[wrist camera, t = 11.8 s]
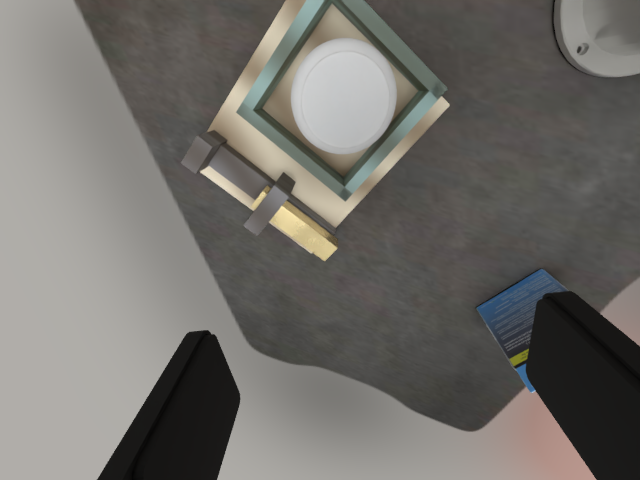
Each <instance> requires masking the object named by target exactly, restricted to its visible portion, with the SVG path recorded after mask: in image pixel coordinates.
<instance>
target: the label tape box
mask: <svg viewBox="0 0 640 480" xmlns="http://www.w3.org/2000/svg"><path fill="white" fill-rule="evenodd" d="M562 291H569V290H567V289H566V288H565V287H564V286H563V285H561V284H560V283H559V282H558V281H557V280H556V279H554V278H553V277H552V276H551V275H550V274H549V273H547V272H546V271H545V270H543V269H540V270H538V271H536V272H535V273H533V274H532V275H530V276H528V277H527V278H525V279H523V280H522V281H520V282H519V283H517V284H515V285H514V286H512V287H510V288H509V289H507V290H505V291H504V292H502V293H500V294H499V295H497V296H495V297H494V298H492V299H490V300H489V301H487V302H485V303H483V304H482V305H480V306H478V307H477V308H476V309H477V311H478V313H479V314H480V316H481V317H482V319H483V321H484V322H485V324H486V325H487V327H488V328H489V330H490V332H491V333H492V335H493V336H494V338H495V340H496V341H497V343H498V344H499V346H500V348H501V349H502V351H503V352H504V354H505V356H506V357H507V359H508V361H509V362H510V364H511V366H512V367H513V369H514V370H516V371H517V372H518V374H519V375H520V377H521V379H522V380H523V382H524V383H525V385H526V387H527V388H528V389H529V391H530V392H531V393H533V392H535V391H536V390H535V389H534V388H533V386H532V385H531V383H530V381H529V380H528V377H527V374H526V363H527V357H528V351H529V345H530V339H531V333H532V327H533V321H534V315H535V310H536V304H537V301H538V300H540V299H542V297H543V295H544V294H546V293H553V292H562Z"/></svg>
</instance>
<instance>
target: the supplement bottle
mask: <svg viewBox="0 0 640 480" xmlns="http://www.w3.org/2000/svg"><path fill="white" fill-rule="evenodd" d="M396 101H397V88H396V81H395V77H394V74H393V71H392V69H391V67H390V65H389V63H388V61H387V60H386V59H385V57H384V56H383V55H382V54H381V53H380V52H379V51H378V50H377V49H376V48H374V47H373V46H372V45H370V44H368V43H366V42H364V41H362V40H358V39H353V38H337V39H333V40H329V41H327V42H325V43H322V44H321V45H319V46H317V47H316V48H315V49H313V50H312V51H311V52H310V53H309V54H308V55H307V56H306V57H305V58H304V60H303V61H302V63H301V64H300V66H299V68H298V70H297V72H296V74H295V76H294V79H293V83H292V89H291V107H292V112H293V116H294V119H295V121H296V124H297V126H298V128H299V130H300V131H301V132H302V134H303V135H304V136H305V138H306V139H307V140H308V141H309V142H310V143H312V144H313V145H314V146H316V147H317V148H319V149H321V150H323V151H326V152H329V153H334V154H351V153H356V152H359V151H361V150H363V149H365V148H367V147H369V146H370V145H372V144H373V143H374V142H376V141H377V140H378V139H379V138H380V137H381V136H382V135H383V133H384V132H385V131H386V129H387V128H388V126H389V124H390V122H391V120H392V117H393V115H394V111H395V107H396Z"/></svg>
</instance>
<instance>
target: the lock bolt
mask: <svg viewBox="0 0 640 480" xmlns="http://www.w3.org/2000/svg"><path fill="white" fill-rule="evenodd" d="M270 190H271V187H269V186H268V185H267V186H266V187H265V188H264V190H263V191H262V192H261V194H260V195H259V196H258V198H257V199H256V200H255V202H254V203H253V204H252V206H251V207H252V208H253V209H254V210H256V208H257V207H258V206H259V204H260V203H261V202H262V200H263V199H264V198H265V197H266V195H267V194H268V193H269V191H270ZM270 221H271V222H272V223H273V224H275V225H276V226H277V227H279V228H280V229H281V230H283V231H284V232H286V233H287V234H288V235H290V236H291V237H292V238H294V239H295V240H296V241H298V242H299V243H300V244H302V245H303V246H305V247H306V248H307V249H309V250H310V251H311V252H313V253H314V254H315V255H317V256H318V257H320V258H321V259H322V260H324V261H326V260H327V259H328V258H329V257H330V256H331V255H332V254H333V252H334V251H335V250H336V249H337V248H338V239H337V238H336V237H334V236H333V235H332V234H330V233H329V232H328V231H327V230H325V229H324V228H323V227H321V226H320V225H319V224H317V223H316V222H315V221H314V220H312V219H311V218H310V217H308V216H307V215H306V214H304V213H303V212H302V211H301V210H299V209H298V208H297V207H295V206H294V205H293V204H291V203H290V202H289V201H288V200H286V201H285V203H284V204H283V205H282V206H281V208H280V209H279V210H278V211H277V213H276V214H275V215H274V216H273V217H272V219H271V220H270Z"/></svg>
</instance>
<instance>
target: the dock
mask: <svg viewBox="0 0 640 480" xmlns="http://www.w3.org/2000/svg"><path fill="white" fill-rule="evenodd" d="M337 38H353V39H358V40H362V41H364V42H366V43H368V44H370V45H372V46H373V47H374V48H376V49H377V50H378V51H379V52H380V53H381V54H382V55H383V56H384V57H385V59H386V60H387V61H388V63H389V65H390V67H391V69H392V71H393V74H394V77H395V81H396V88H397V101H396V107H395V111H394V115H393V117H392V120H391V122H390V124H389V126H388V128H387V129H386V131H385V132H384V133H383V135H382V136H381V137H380V138H379V139H378V140H377V141H376V142H374V143H373V144H372V145H370V146H369V147H367V148H365V149H363V150H361V151H359V152H356V153H351V154H334V153H329V152H326V151H323V150H321V149H319V148H317V147H316V146H314V145H313V144H312V143H310V142H309V141H308V140H307V139H306V138H305V136H304V135H303V134H302V132H301V131H300V130H299V128H298V126H297V124H296V121H295V119H294V116H293V112H292V107H291V89H292V83H293V79H294V76H295V74H296V72H297V70H298V68H299V66H300V64H301V63H302V61H303V60H304V58H305V57H306V56H307V55H308V54H309V53H310V52H311V51H312V50H313V49H315V48H316V47H317V46H319V45H321V44H322V43H325V42H327V41H329V40H333V39H337ZM447 90H448V88H447V87H446V86H445V85H444V84H443V83H442V82H441V81H440V80H439V79H438V78H437V77H436V76H435V75H434V73H433V72H432V71H431V70H430V69H429V68H428V67H427V66H426V65H425V64H424V63H423V62H422V61H421V60H420V59H419V58H418V57H417V56H416V55H415V53H414V52H413V51H412V50H411V49H410V48H409V47H408V46H407V45H406V44H405V43H404V42H403V41H402V40H401V39H400V38H399V37H398V36H397V35H396V33H395V32H394V31H393V30H392V29H391V28H390V27H389V26H388V25H387V24H386V23H385V22H384V21H383V20H382V19H381V18H380V17H379V16H378V14H377V13H376V12H375V11H374V10H373V9H372V8H371V7H370V6H369V5H368V4H367V3H366V2H365V1H364V0H286V1H285V3H284V5H283V6H282V8H281V10H280V11H279V13H278V14H277V16H276V18H275V19H274V21H273V23H272V24H271V26H270V28H269V29H268V31H267V33H266V34H265V36H264V38H263V39H262V41H261V43H260V44H259V46H258V48H257V49H256V51H255V53H254V54H253V56H252V58H251V59H250V61H249V63H248V64H247V66H246V68H245V69H244V71H243V72H242V74H241V76H240V77H239V79H238V81H237V82H236V84H235V86H234V87H233V89H232V91H231V92H230V94H229V96H228V97H227V99H226V101H225V102H224V104H223V106H222V107H221V109H220V111H219V112H218V114H217V116H216V117H215V119H214V121H213V122H212V124H211V126H210V127H209V129H208V130H207V132H206V133H203V134H200V135H197V136H196V138H195V140H194V141H193V143H192V145H191V147H190V148H189V150H188V152H187V153H186V155H185V157H184V158H183V160H182V162H181V164H183V165H184V166H186V167H187V168H188V169H190V170H191V171H192V172H194V173H195V174H196V173H198V172H201V173H202V174H204V175H205V176H206V177H208V178H209V179H210V180H212V181H213V182H215V183H216V184H217V185H219V186H220V187H221V188H223V189H224V190H225V191H227V192H228V193H230V194H231V195H232V196H234V197H235V198H236V199H238V200H239V201H240V202H242V203H243V204H245V205H246V206H247V207H249V208H250V209H251V210H253V213H252V214H251V215H250V217H249V218H248V220H247V221H246V223H245V224H244V227H245V228H247V229H248V230H250V231H251V232H252V233H254V234H255V235H257V236H258V235H259V234H260V232H261V231H262V230H263V229H264V227H265V226H266V225H267V224H268V222H269V223H270V224H272V225H273V226H275V227H276V228H277V229H279V230H280V231H281V232H283V233H284V234H285V235H287V236H288V237H290V238H291V239H292V240H294V241H295V242H296V243H298V244H299V245H300V246H302V247H303V248H305V249H306V250H307V251H309V252H310V253H311V254H312V253H313V252H311V251H310V250H309V249H307V248H306V247H305V246H303V245H302V244H300V243H299V242H298V241H296V240H295V239H294V238H292V237H291V236H290V235H288V234H287V233H286V232H284V231H283V230H281V229H280V228H279V227H277V226H276V225H275V224H273V223H272V222H271V221H270V220H271V219H272V217H273V216H274V215H275V214H276V213H277V211H278V210H279V209H280V208H281V206H282V205H283V204H284V203H285V201H286V200H288V201H289V202H290V203H291V204H293V205H294V206H295V207H297V208H298V209H299V210H301V211H302V212H303V213H304V214H306V215H307V216H308V217H310V218H311V219H312V220H314V221H315V222H316V223H317V224H319V225H320V226H321V227H323V228H324V229H325V230H327V231H328V232H329V233H330V234H332V235H333V236H334V235H335V228H336V227H337V226H338V225H339V224H340V223H341V221H342V220H343V219H344V218H345V217H346V216H347V215H348V214H349V213H350V212H351V211H352V210H353V209H354V208H355V206H356V205H357V204H358V203H359V202H360V201H361V200H362V199H363V198H364V197H365V196H366V195H367V194H368V193H369V191H370V190H371V189H372V188H373V187H374V186H375V185H376V184H377V183H378V182H379V181H380V180H381V179H382V178H383V176H384V175H385V174H386V173H387V172H388V171H389V170H390V169H391V168H392V167H393V166H394V165H395V164H396V163H397V161H398V160H399V159H400V158H401V157H402V156H403V155H404V154H405V153H406V152H407V151H408V150H409V149H410V148H411V146H412V145H413V144H414V143H415V142H416V141H417V140H418V139H419V138H420V137H421V136H422V135H423V134H424V133H425V131H426V130H427V129H428V128H429V127H430V126H431V125H432V124H433V123H434V122H435V121H436V120H437V119H438V118H439V116H440V115H441V114H442V113H443V112H444V111H445V110H446V109H447V108H448V107H449V106H450V104H449V103H448V102H447V101H446V100H445V99H444V98H443V97H442V95H443V94H444V93H445V92H446V91H447ZM267 185H268V186H269V187H271V190H270V191H269V193H268V194H267V195H266V197H265V198H264V199H263V200H262V202H261V203H260V204H259V206H258V207H257V208H256V210H254V209H253V208H252V207H251V206H252V204H253V203H254V202H255V200H256V199H257V198H258V196H259V195H260V194H261V192H262V191H263V190H264V188H265V187H266V186H267Z"/></svg>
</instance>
